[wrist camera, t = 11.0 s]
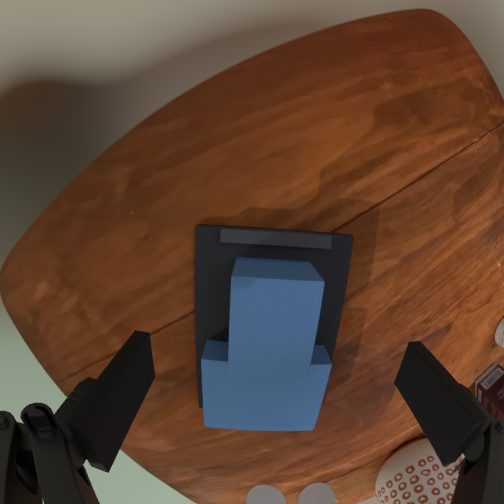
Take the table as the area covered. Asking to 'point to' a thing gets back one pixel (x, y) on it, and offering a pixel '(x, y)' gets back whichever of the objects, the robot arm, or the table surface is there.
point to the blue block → (273, 316)
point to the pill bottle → (500, 334)
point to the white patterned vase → (416, 476)
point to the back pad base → (218, 316)
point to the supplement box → (491, 390)
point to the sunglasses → (310, 500)
